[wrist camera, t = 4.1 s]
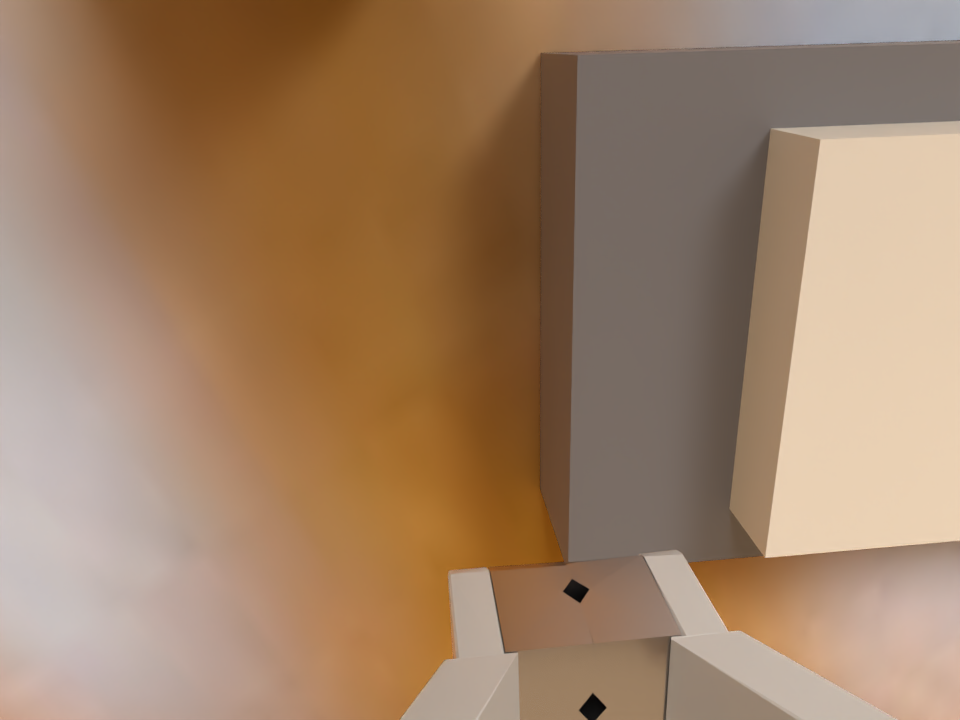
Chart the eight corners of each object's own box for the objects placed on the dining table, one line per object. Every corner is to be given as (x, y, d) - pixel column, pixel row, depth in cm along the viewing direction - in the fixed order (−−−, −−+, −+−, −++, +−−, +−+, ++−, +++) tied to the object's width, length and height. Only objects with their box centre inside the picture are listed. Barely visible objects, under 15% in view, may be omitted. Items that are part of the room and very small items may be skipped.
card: (770, 128, 16) (820, 139, 14) (1047, 117, 16) (1130, 126, 14) (729, 508, 19) (765, 557, 17) (959, 489, 20) (1018, 535, 18)
